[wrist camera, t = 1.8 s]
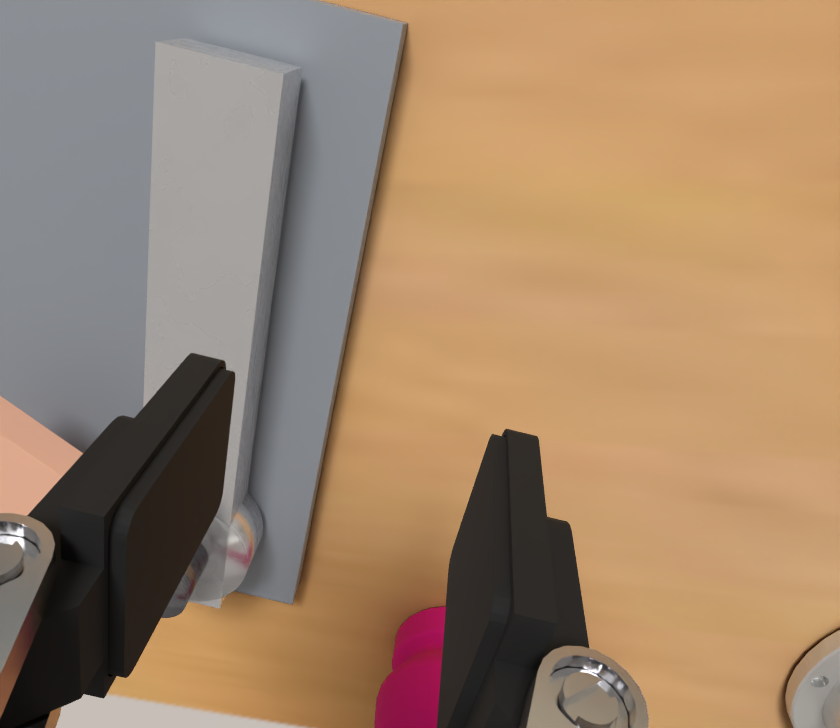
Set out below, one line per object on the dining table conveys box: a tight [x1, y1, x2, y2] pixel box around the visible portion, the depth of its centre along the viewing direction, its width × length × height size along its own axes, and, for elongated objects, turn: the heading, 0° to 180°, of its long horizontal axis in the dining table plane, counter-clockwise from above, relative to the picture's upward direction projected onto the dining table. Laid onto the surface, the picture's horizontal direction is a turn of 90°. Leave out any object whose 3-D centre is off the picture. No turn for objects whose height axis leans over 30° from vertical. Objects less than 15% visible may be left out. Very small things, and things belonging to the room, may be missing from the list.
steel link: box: [143, 38, 303, 618], centre depth 27 cm, size 24×6×5 cm, turn 167°
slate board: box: [0, 0, 408, 604], centre depth 30 cm, size 26×28×2 cm
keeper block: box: [0, 396, 83, 516], centre depth 30 cm, size 6×7×7 cm
